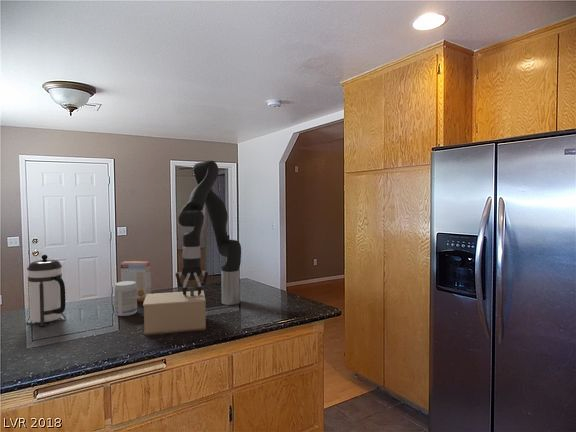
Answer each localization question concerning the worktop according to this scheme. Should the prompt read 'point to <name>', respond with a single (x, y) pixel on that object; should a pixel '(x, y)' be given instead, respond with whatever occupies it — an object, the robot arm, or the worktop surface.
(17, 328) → the worktop surface
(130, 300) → the supplement tub
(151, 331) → the carton
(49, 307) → the coffee press
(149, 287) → the cracker box
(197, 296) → the carton lid
